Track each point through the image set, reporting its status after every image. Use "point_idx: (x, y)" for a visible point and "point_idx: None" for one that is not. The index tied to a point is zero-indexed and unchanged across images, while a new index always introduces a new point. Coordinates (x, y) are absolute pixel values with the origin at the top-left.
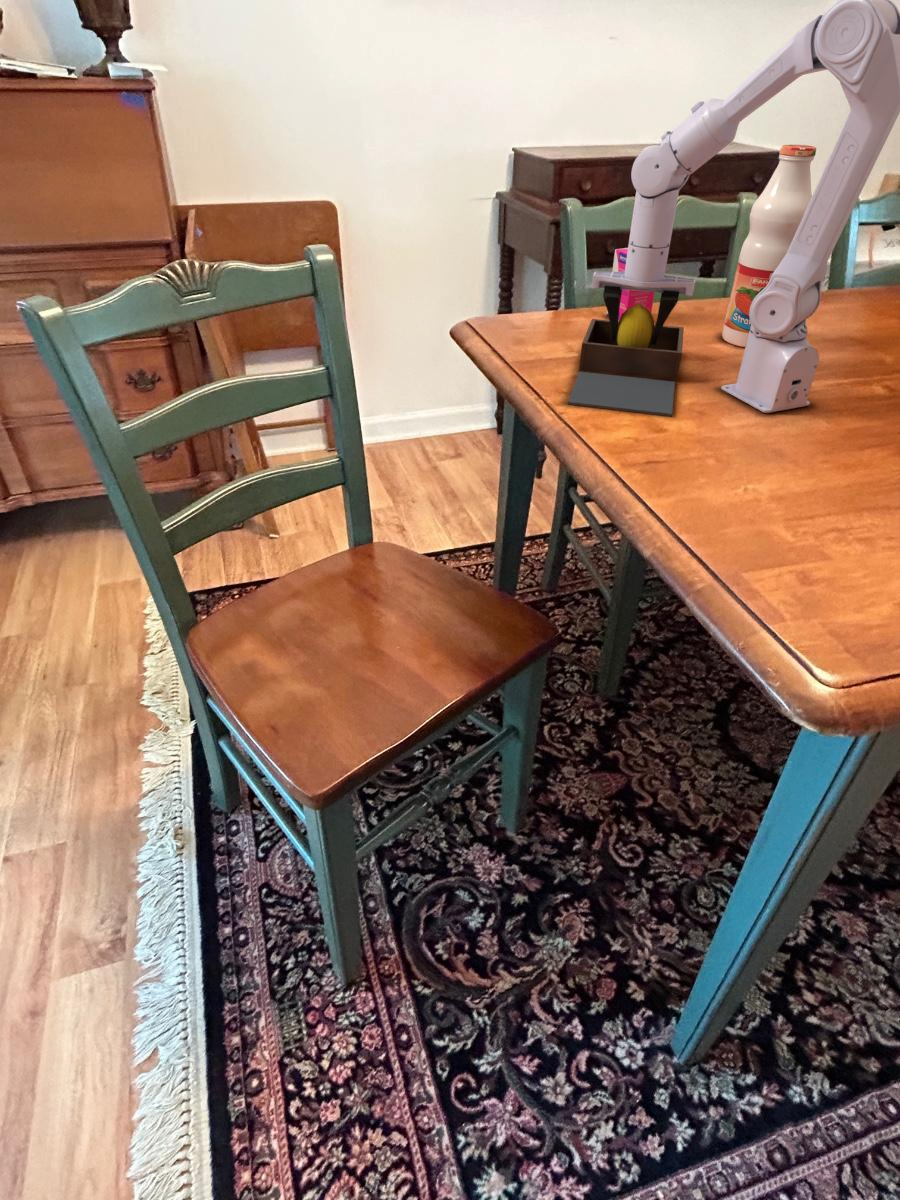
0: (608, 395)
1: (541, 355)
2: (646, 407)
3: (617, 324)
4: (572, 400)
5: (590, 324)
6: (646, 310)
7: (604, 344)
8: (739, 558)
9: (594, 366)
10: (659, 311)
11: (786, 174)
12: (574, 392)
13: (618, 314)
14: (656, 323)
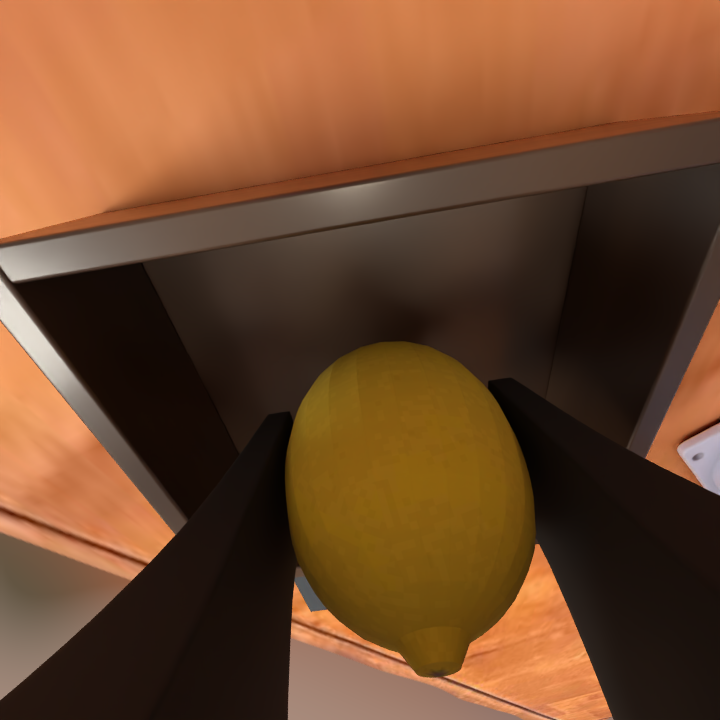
0: None
1: (38, 426)
2: None
3: (279, 482)
4: (316, 606)
5: (65, 394)
6: (498, 619)
7: (301, 570)
8: (549, 698)
9: None
10: (604, 676)
11: None
12: (304, 586)
13: (251, 512)
14: (547, 555)
